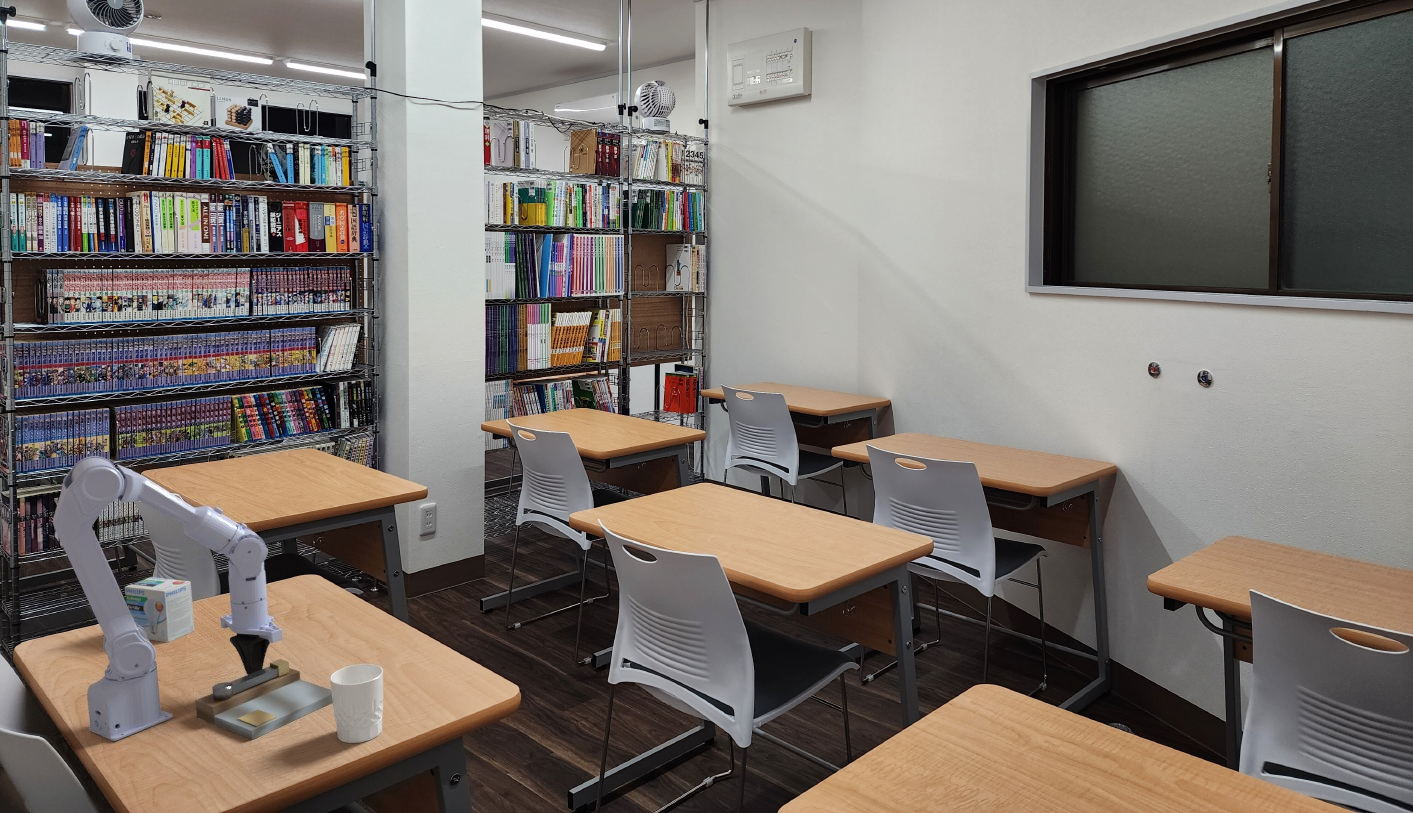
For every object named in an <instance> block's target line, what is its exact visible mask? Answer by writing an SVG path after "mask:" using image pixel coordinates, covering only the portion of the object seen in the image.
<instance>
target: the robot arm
mask: <svg viewBox="0 0 1413 813" xmlns="http://www.w3.org/2000/svg"><path fill="white" fill-rule="evenodd" d="M116 465H117V467H118V469H117V468H116V466H115V465H114V463H113V462H111V460H109V459H107V458H105V457H103V456H98V455H93V456H92V455H91V456H87V457H84V458H82V459H80V460H79V461H78V462H76V463H75V464H74V465H73V467H72V468H71V469H70V470H69V471H68V473H66V475H65V476H64V478H63V479H62V480H63V482H62V486H61V491H60V493H59V494H60V495H59V497H58V501H57V504H56V508H55V512H54V515H53V519H52V523H53V527H54V530H55V531H56V532H55V533H56V534H57V537H58V539H59V541H60V543H61V545H62V547H63V550H64V551H65V553H66V556H67V557H68V561H69V562H70V564H71V566H72V569H73V572H74V573H75V575H76V578H77V579H78V582H79V583H80V586H81V587H82V590H83V592H84V595H85V597H86V598H87V601H88V603H89V605H90V607H91V609H92V611H93V614H94V615H95V618H96V621H97V623H98V624H99V627H100V629H101V631H102V633H103V636H104V637H103V642H102V643H103V644H102V646H103V647H102V648H103V651H104V653H105V655H106V656H107V659H108V661H109V663H108V665H107V667H106V669H105V670H104V676H103V677H101V679H99V680H98V681H96V682H94V683H92V684H90V685H89V686H88V688H87V693H86V695H87V696H86V697H87V698H86V699H87V705H88V706H87V707H88V709H87V710H88V717H89V726H88V727H87V730H88V731H90V732H93V733H94V734H96V735H99V736H101V737H103V738H105V739H108V740H110V741H112V742H116V741H119V740H121V739H124V738H127V737H128V736H132V735H133V734H136V733H138V732H141V731H143V730H146V729H149V728H151V727H154V726H156V725H158V724H161V723H163V722H165V721H167V720H170V719H172V718H174V715H173V713H170V712H168V711H165V710H163V709H162V708H161V699H160V688H159V678H158V677H159V676H158V667H157V663H158V662H157V661H155V660H156V657H157V652H156V648H155V646H154V645H153V643H152V642H150V641H151V640H149V639H148V637H147V633H146V631H145V630H144V629H143V628H142V627H141V626H139V625H138V624H136V623H135V622H134V619H133V617H132V615H131V613H130V611H129V609H128V606H127V604H126V599H125V597H124V596H123V594H122V590H121V589H120V587H119V585H118V582H117V580H116V577H115V575H114V573H113V570H112V569H111V567H110V564H109V562H108V560H107V557H106V555H105V553H104V551H103V549H102V546H101V545H100V543H99V541H98V538H97V536H96V533H95V532H94V529H93V526H94V524H95V522H96V520H97V519H98V517H99V516H100V514H101V513H102V512H103V510H104V509H106V507H108V506H110V504H112V503H114V502H115V501H116V500H119V502H120V503H133V502H141V504H145V505H146V506H148V507H150V508H151V509H153V510H156V511H158V512H159V513H162V514H163V515H166V516H167V517H169V518H171V519H172V520H175V521H177V522H179V523H181V524H182V526H183V533H184V535H185V536H186V537H188V538H191V539H192V540H194V541H195V542H197V543H199V544H201V545H203V546H204V547H206V548H207V549H209V550H212V551H213V552H215V553H217V554H220V555H221V554H223V555H224V556H225V557H226V558H228V559H229V560H228V561H227V563H228V585H229V586H228V587H229V600H230V602H229V603H230V614H227V615H223V616H221V617H220V628H222V629H227V628H229V629H230V631H231V632H232V633H235V634H236V635H232V636H231V637H230V638H229V642H230V643H231V645H233V647H234V649H235V650H236V652H237V653H238V656H239V658H240V660H241V662H242V666H243V669H244V670H245V673H246V674H247V675H249V674H252V673H254V672H257V671H259V670H262V669H264V663H265V658H266V654H267V651H268V649H269V648H268V647H269V646H270V644H275V643H277V642H279V641H282V640H283V639H284V637H283V629H282V628H280V627H278V626H277V625H276V624H275V623H274V621H275V616H272V615H269V604H268V594H267V593H268V592H267V579H266V578H267V576H266V570H265V560H266V559H267V556H268V553H269V549H268V547H267V546H266V543H265V541H264V539H263V538H262V537H260V535H258V534H257V533H256V532H255V531H253V530H252V529H251V528H250V527H248V525H247V524H245V523H244V522H240V523H238V522H236V521H235V520H233V519H231V518H229V517H228V516H227V515H224V514H223V513H224V510H223V509H222V508H220V507H218V506H217V505H216V506H214V507H213V508H212V507H211V506H210V505H202V506H195V507H194V506H192V505H191V504H189V503H188V502H186V501H184V500H183V499H181V498H180V497H178V496H177V495H175V494H173V493H171V492H170V491H168V490H167V489H165V488H164V487H162V486H160V485H159V484H158V483H155V482H154V481H152V480H151V479H149V478H148V477H146V476H144V475H142V474H140V473H138V472H136V471H134V470H131V469H129V468H128V467H125V466H122V465H120V464H119V463H118V464H116Z"/></svg>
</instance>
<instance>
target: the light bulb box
mask: <svg viewBox="0 0 1413 813" xmlns="http://www.w3.org/2000/svg"><path fill="white" fill-rule="evenodd" d="M191 584H192V583H191V581H190V580H180V579H173V578H172V579H171V578H162V577H154V576H151V577H147V578H145V579H142V580H139V581H137V582H134V583H131V584H129V585H126V586H124V591H125V592H124V593H125V602H126V604H127V606H128V609H129V611H130V613H131V615H132V617H133V619H134V622H135V623H136V624H138V625H139V626H141V627H142V628H143V629H144V630H145V631H146V633H147V637H148V639H149V641H157V642H164V643H171V642H172V641H175V640H177V639H180V638H181V637H184V636H187V635H188V634H191V633H193V632H195V624H194V623H195V621H194V609H193V598H192V597H193V595H192V585H191Z"/></svg>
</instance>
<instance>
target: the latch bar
mask: <svg viewBox="0 0 1413 813" xmlns="http://www.w3.org/2000/svg"><path fill="white" fill-rule="evenodd" d="M289 662H290V661H287V660H284V659H281V658H278V659H277V660H274V661H270V662H269V666H266V667H265V668H264V667H263V668H262V670H259V671H257V672H254V673H252V674H249V675H248V674H247V675H244V676H242V677H239V678H237V679H234V680H232V681H229V682H228V681H225V682H220V683H216V684H214V685H213V686H212V689H211V690H212V691H211V692H212V693H213V699H214V700H225V699H228V698H230V697H232V696H233V694H236V693H238V692H240V691H243V690H245V689H248V688H250V687H253V686H255V685H257V684H260V683H262V682H265V681H267V680H270V679H272V678H274V677H277V676H279V677H280V676H282V675H284V674H287V673H289V668H290V664H289Z"/></svg>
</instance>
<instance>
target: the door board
mask: <svg viewBox="0 0 1413 813" xmlns="http://www.w3.org/2000/svg"><path fill="white" fill-rule="evenodd" d="M194 702H195V713H196V718H197V719H199V720H201V721H204V722H207V723H209V724H212V725H215V726H217V727H220V728H222V729H225V730H228V731H229V732H232V733H233V734H234V733H235V734H237V735H240V736H242V737H245V738H247V739H249V740H252V741H253V740H255V739H257V738H259V737H261V736H264V735H265V734H268V733H270V732H273V731H275V730H277V729H279V728H281V727H284V726H285V725H288V724H289V723H292V722H294V721H297V720H298V719H301V718H303V717H305V716H307V715H309V714H311V713H314V712H316V711H318V710H319V709H322V708H325V707H327V706H329V705H331V704H333V701H332V692H331V688H327V687H324V686H322V685H317V684H315V683H312V682H310V681H306V680H303V679H301V671H299V670H296V669H293V668H290V667H289V673H287V674H284V675H282V676H280V677H279V676H277V677H274V678H272V679H270V680H267V681H265V682H262V683H260V684H257V685H255V686H253V687H250V688H248V689H245V690H243V691H240V692H238V693H236V694H233V696H232V697H230V698H228V699H225V700H214V699H213V692H212V693H209V694H207V695H205V696H203V697H201V698H198V699H196V700H195V701H194Z"/></svg>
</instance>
